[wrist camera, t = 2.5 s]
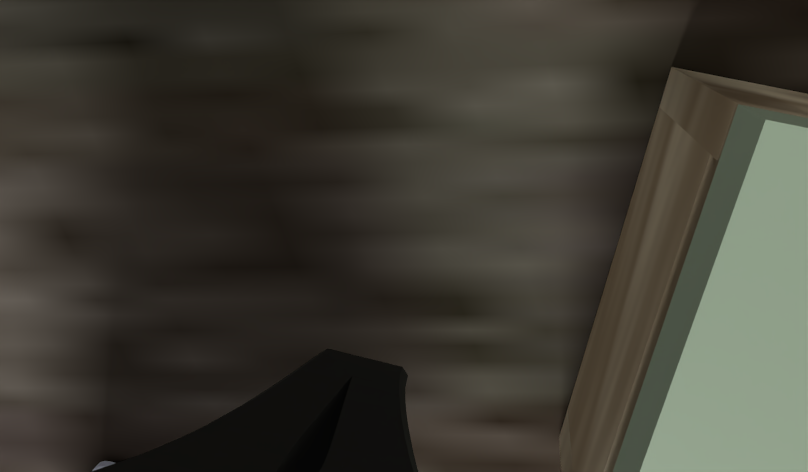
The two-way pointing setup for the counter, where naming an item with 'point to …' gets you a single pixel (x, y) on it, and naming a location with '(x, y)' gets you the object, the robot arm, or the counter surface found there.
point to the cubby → (654, 255)
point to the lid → (736, 319)
